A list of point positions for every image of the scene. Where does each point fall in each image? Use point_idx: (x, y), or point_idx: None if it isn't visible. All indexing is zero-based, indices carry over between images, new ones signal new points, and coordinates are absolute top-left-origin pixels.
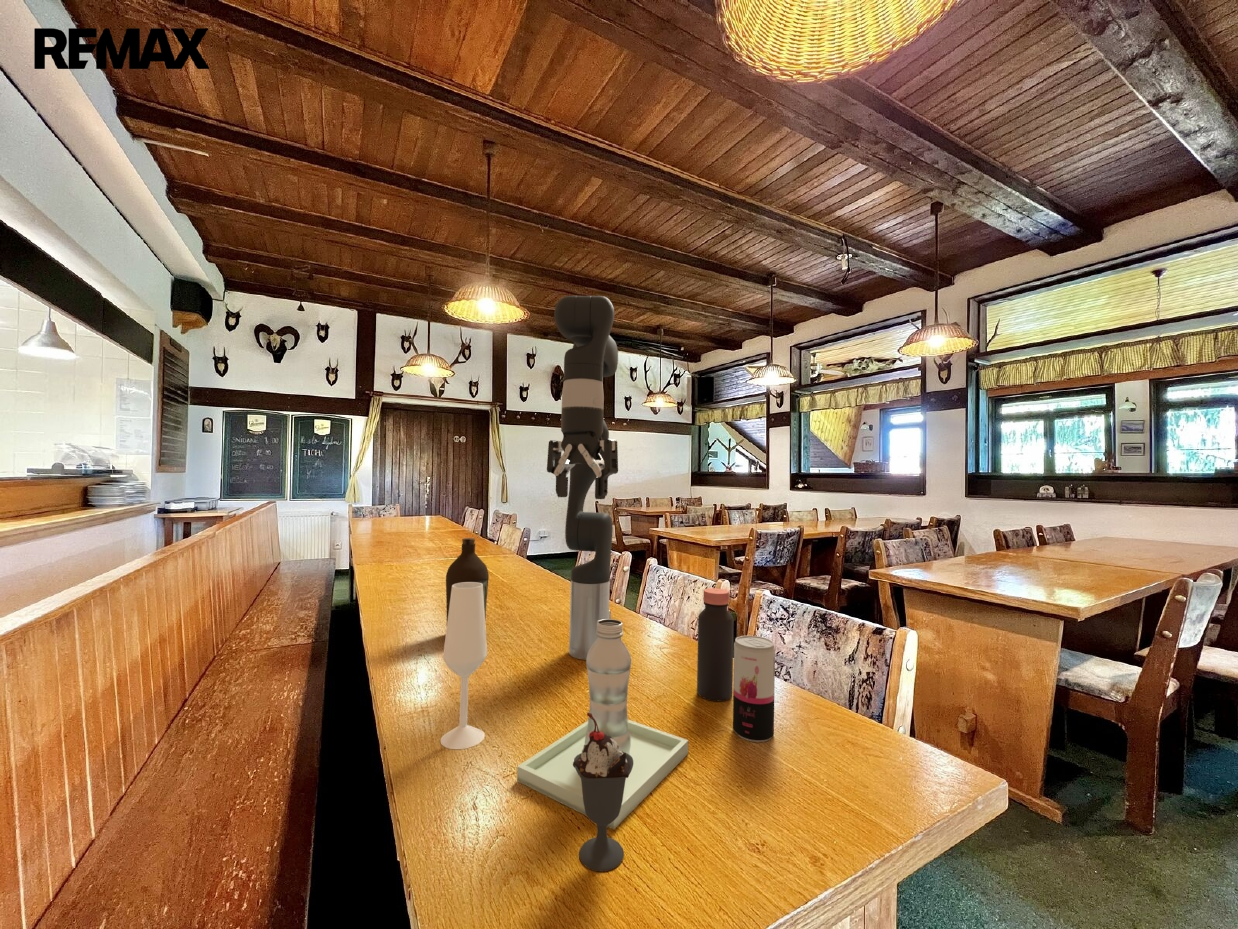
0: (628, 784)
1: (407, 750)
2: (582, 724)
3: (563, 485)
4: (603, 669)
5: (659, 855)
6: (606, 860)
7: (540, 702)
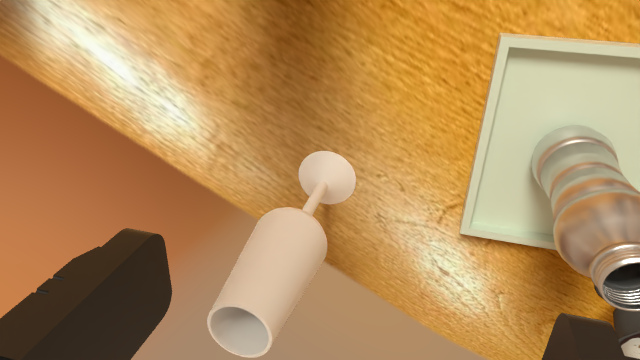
0: None
1: None
2: (488, 102)
3: (106, 344)
4: (612, 271)
5: None
6: None
7: (347, 26)
